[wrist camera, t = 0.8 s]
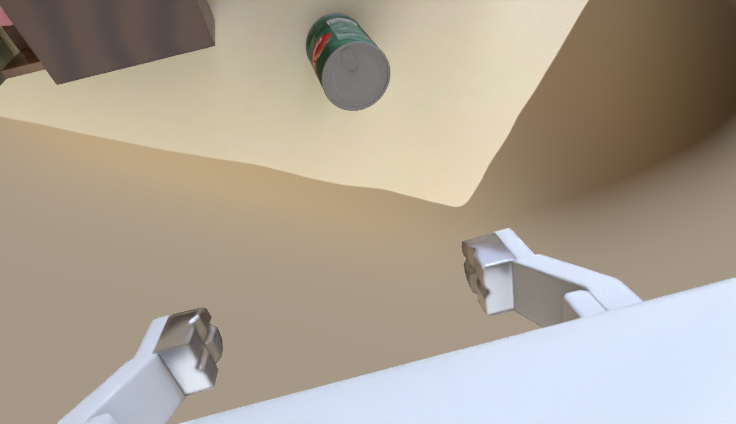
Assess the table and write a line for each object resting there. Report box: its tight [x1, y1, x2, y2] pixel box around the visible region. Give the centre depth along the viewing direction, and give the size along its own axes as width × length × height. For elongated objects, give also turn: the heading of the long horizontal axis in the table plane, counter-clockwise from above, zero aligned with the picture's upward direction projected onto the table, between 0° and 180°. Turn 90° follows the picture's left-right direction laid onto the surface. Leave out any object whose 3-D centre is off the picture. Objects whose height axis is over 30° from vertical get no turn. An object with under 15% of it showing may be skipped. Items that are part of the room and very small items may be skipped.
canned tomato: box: [306, 13, 390, 111], centre depth 49 cm, size 8×8×11 cm
